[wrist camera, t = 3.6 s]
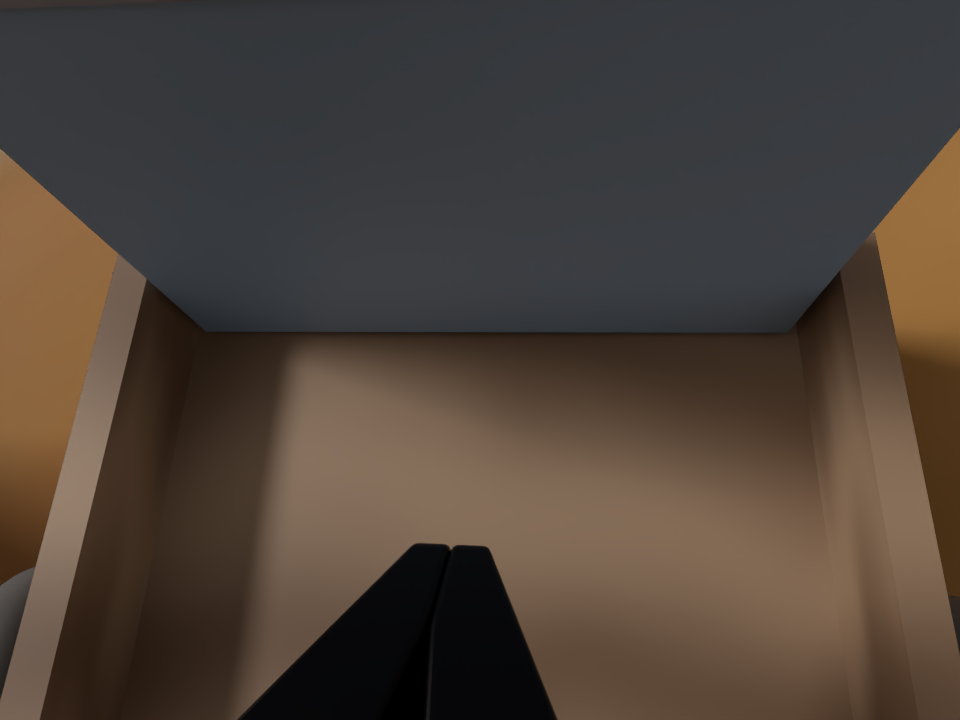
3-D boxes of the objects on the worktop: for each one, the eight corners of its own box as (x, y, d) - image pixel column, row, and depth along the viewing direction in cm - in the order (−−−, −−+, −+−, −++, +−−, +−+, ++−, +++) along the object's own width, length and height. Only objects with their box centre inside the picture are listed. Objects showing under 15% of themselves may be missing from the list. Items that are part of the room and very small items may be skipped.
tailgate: (787, 337, 15) (1178, -121, 6) (205, 335, 17) (-231, -47, 7) (780, 282, 16) (1129, -220, 7) (215, 284, 17) (-180, -135, 8)
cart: (1021, 1317, 11) (1307, 1727, 7) (-26, 1190, 13) (-297, 1460, 9) (848, 324, 18) (943, 231, 14) (167, 324, 19) (66, 240, 15)
